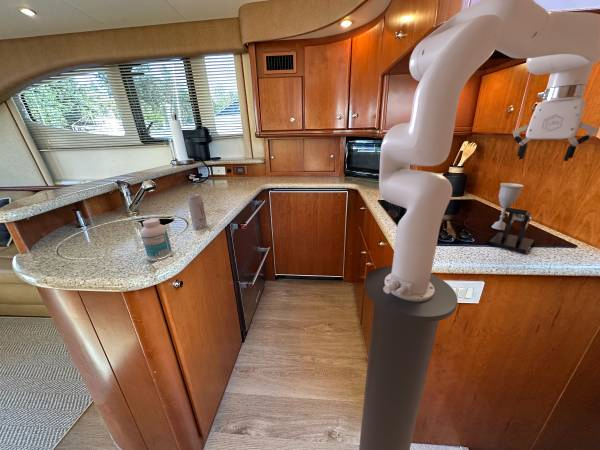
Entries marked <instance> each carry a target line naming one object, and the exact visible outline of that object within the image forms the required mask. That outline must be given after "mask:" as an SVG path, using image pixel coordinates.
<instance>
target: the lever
mask: <svg viewBox="0 0 600 450" xmlns="http://www.w3.org/2000/svg"><path fill="white" fill-rule="evenodd" d="M528 211H529V210H526V209H521V208H520V209H519V208H515V207H509V208H508V207H506V210H505V212H506V213H508V214H509V213H514V214H515V216H514V219H513V222H517V223H523V220H524V217H525V215H527V213H528Z"/></svg>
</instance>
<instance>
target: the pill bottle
mask: <svg viewBox="0 0 600 450" xmlns="http://www.w3.org/2000/svg"><path fill="white" fill-rule="evenodd" d="M142 226H143V228H142V229H141V230H140V236H141V239H142V242H143V246H144V249H145V250H144V251H145V252H146V255H147V259H148V258H149V259H148V261H150V262H161V261H165V260H167V259H169V258H171V257H172V255H173V250H172V247H171V242H170V238H169V234H168V230H167V227H166V226H165V225H164V224H161V221H160V219H159V218H149V219H145V220H143V221H142ZM171 253H172V254H171ZM169 254H171V255H169ZM167 255H169V256H167ZM165 256H167V257H165ZM162 257H165V258H162ZM158 258H162V259H158ZM150 259H157V260H150Z"/></svg>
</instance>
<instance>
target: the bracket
mask: <svg viewBox="0 0 600 450" xmlns="http://www.w3.org/2000/svg"><path fill="white" fill-rule="evenodd" d="M532 214H533V213H532V212H530V211H529V212H527V215H525V217H524V220H523V222H521V223H522V224H521V227H520V230H519V232H518V235H514V234H510V232H511V230H512V227H513V224H514V220H513V219H514V216H515V214H514V213H509V212H508V214H507V216H506V218H507V220H506V222H505V224H506V226H505V229H504V230H503V232H501V231H499V232H497V233H496V234H495V235H494V236H493V237H492V238H491V239H490V240H489V241H488V246H492V247H495V248H500V249H503V250H507V251H512V252H515V253H519V254H522V255H527V253H529V250H530V249H531V248H532V246H533V245H534V244H535V243H534V242H535V239H533V238H532V239H531V238H528V237H525V235H526V233H527V229H528V226H529V224H530V222H532V218H533V217H532Z"/></svg>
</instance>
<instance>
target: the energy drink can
mask: <svg viewBox="0 0 600 450" xmlns="http://www.w3.org/2000/svg"><path fill="white" fill-rule="evenodd" d="M203 199H204V198H203V197H202V195H201V194H200V193H192V194H189V195H188V198H187V204H188V209H189V214H190V218H191V224H192V227H193V228H194V230H195V229H196V230H202V229H204V228H206V227H207V225H208V221H207V217H206V212H205V206H204V200H203ZM205 225H206V226H205Z"/></svg>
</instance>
